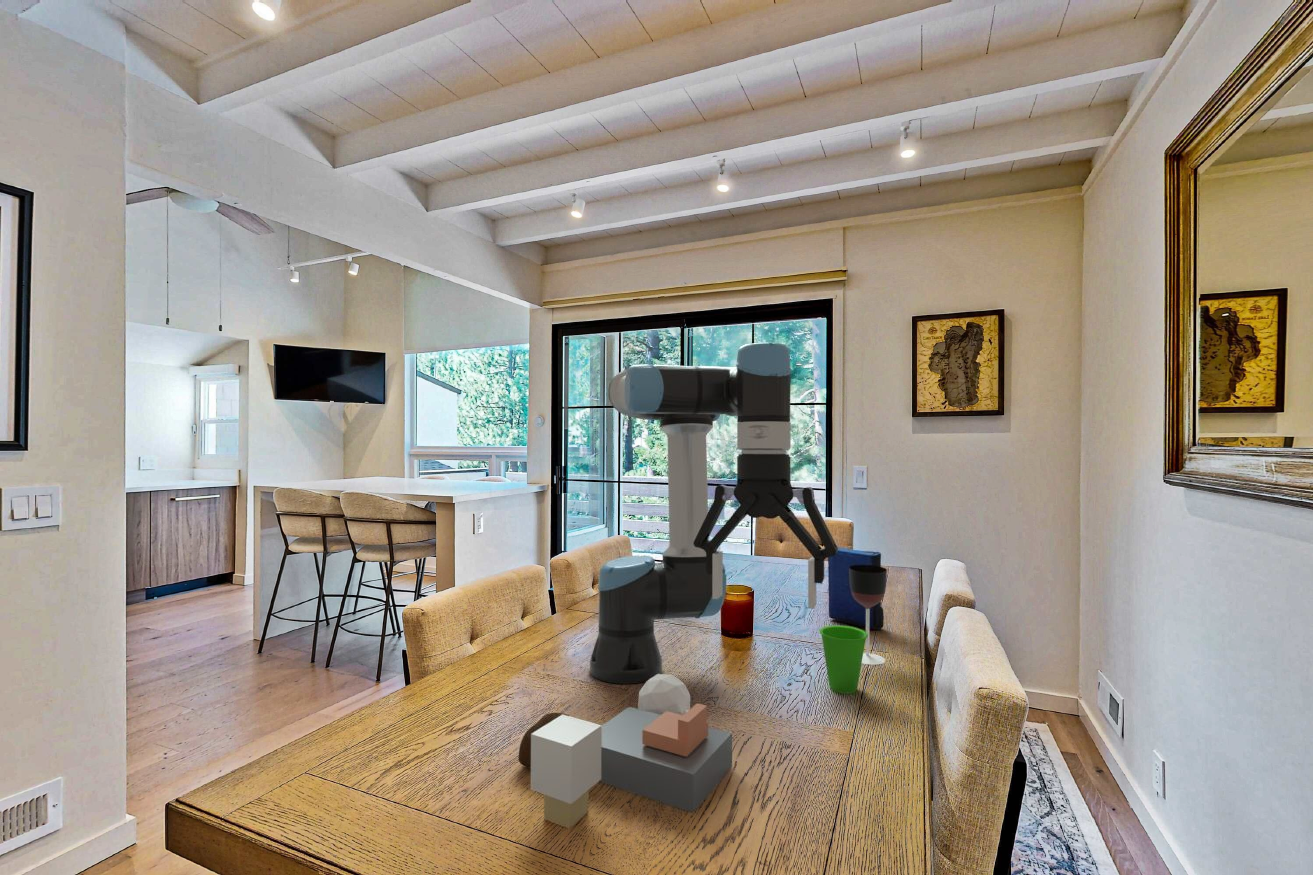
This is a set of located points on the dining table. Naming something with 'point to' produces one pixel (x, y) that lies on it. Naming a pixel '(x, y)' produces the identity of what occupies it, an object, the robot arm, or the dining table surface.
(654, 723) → the orange l-shaped block
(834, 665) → the cup
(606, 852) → the dining table surface
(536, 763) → the plug
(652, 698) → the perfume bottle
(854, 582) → the wineglass
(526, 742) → the potato
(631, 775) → the socket board
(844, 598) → the book
